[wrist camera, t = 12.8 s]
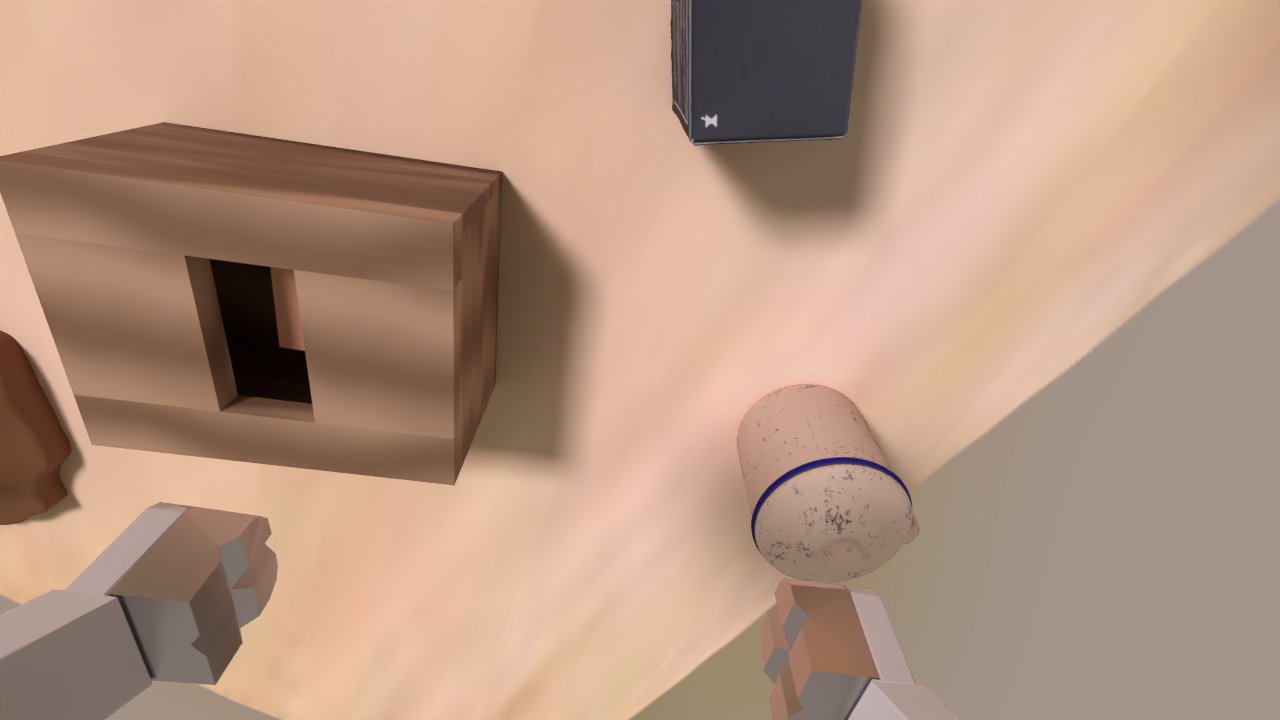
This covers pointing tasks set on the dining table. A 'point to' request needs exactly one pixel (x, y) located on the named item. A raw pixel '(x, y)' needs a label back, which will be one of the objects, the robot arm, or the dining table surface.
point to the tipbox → (265, 296)
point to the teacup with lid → (820, 487)
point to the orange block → (287, 309)
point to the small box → (763, 69)
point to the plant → (27, 440)
